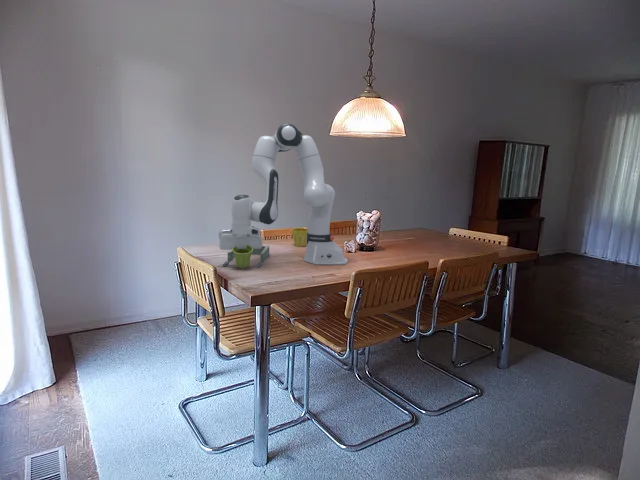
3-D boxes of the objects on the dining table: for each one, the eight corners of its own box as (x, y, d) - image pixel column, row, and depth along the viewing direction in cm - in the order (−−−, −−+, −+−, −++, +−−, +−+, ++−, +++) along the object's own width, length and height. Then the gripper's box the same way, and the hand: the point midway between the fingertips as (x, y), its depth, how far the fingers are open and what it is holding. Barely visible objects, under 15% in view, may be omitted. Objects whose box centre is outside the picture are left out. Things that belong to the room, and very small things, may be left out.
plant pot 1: (252, 270, 202) (252, 253, 199) (231, 270, 201) (231, 253, 197) (253, 261, 211) (253, 244, 207) (233, 260, 209) (233, 244, 206)
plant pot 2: (288, 246, 257) (289, 229, 255) (295, 243, 267) (295, 227, 265) (305, 247, 254) (306, 231, 252) (311, 244, 264) (311, 228, 262)
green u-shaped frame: (269, 254, 234) (269, 245, 233) (262, 263, 214) (263, 253, 213) (236, 253, 234) (236, 244, 233) (227, 261, 214) (227, 252, 213)
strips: (261, 265, 211) (261, 263, 211) (259, 268, 205) (259, 266, 205) (225, 263, 211) (225, 261, 211) (222, 266, 205) (222, 264, 205)
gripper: (219, 231, 199) (219, 260, 202) (263, 230, 206) (262, 259, 209) (217, 228, 205) (217, 257, 208) (261, 228, 212) (260, 255, 215)
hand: (240, 258), depth 208 cm, fingers closed, pressing on plant pot 1
